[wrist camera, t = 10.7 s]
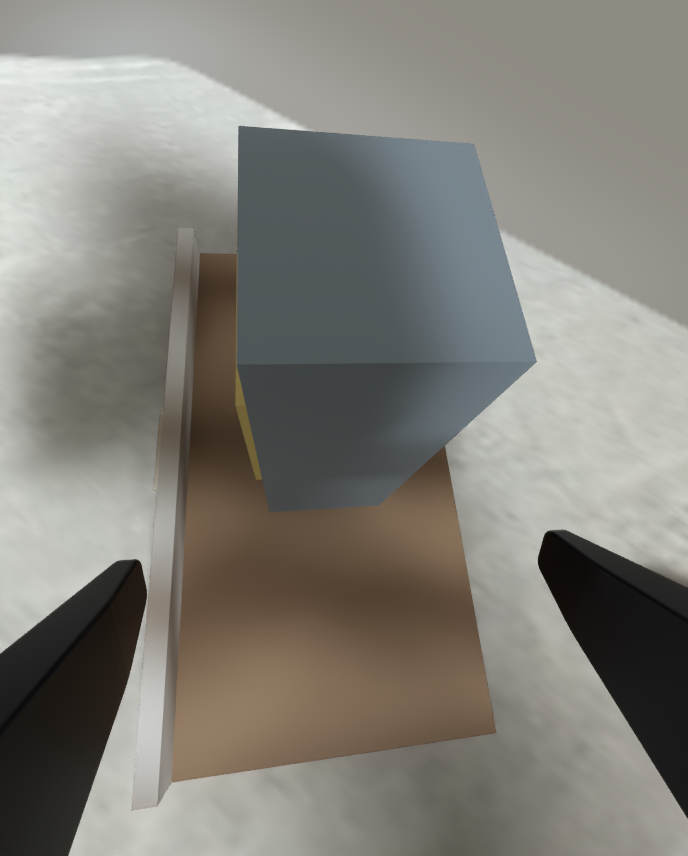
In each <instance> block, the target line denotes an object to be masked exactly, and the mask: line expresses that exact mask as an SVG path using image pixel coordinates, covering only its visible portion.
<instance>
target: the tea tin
mask: <svg viewBox="0 0 688 856" xmlns="http://www.w3.org/2000/svg"><path fill="white" fill-rule="evenodd" d="M536 362H537V361H536V357H535V354H534V350H533V347H532V343H531V340H530V336H529V333H528V329H527V326H526V322H525V319H524V316H523V312H522V309H521V305H520V302H519V298H518V295H517V291H516V288H515V284H514V281H513V277H512V274H511V270H510V267H509V263H508V260H507V257H506V253H505V250H504V246H503V243H502V239H501V236H500V232H499V229H498V225H497V222H496V219H495V215H494V211H493V208H492V204H491V201H490V198H489V194H488V191H487V188H486V184H485V180H484V177H483V173H482V170H481V166H480V163H479V159H478V156H477V152H476V149H475V146H474V144H470V143H456V142H443V141H430V140H417V139H403V138H390V137H377V136H365V135H351V134H338V133H324V132H312V131H299V130H286V129H273V128H260V127H246V126H239V135H238V250H237V286H236V397H235V406H236V410H237V413H238V417H239V421H240V424H241V428H242V431H243V435H244V439H245V442H246V446H247V449H248V453H249V457H250V460H251V464H252V467H253V471H254V474H255V478H256V480H262V481H263V486H264V490H265V495H266V499H267V504H268V508H269V512H283V511H299V510H315V509H331V508H347V507H362V506H378V505H380V504H381V503H382V502H383V501H384V500H385V499H386V498H388V497H389V496H390V495H391V494H392V493H393V492H394V491H395V490H396V489H397V488H399V487H400V486H401V485H402V484H403V483H404V482H405V481H406V480H407V479H408V478H410V477H411V476H412V475H413V474H414V473H415V472H416V471H417V470H418V469H419V468H421V467H422V466H423V465H424V464H425V463H426V462H427V461H428V460H429V459H430V458H432V457H433V456H434V455H435V454H436V453H437V452H438V451H439V450H440V449H441V448H443V447H444V446H445V445H446V444H447V443H448V442H449V441H450V440H451V439H452V438H453V437H455V436H456V435H457V434H458V433H459V432H460V431H461V430H462V429H463V428H464V427H466V426H467V425H468V424H469V423H470V422H471V421H472V420H473V419H474V418H475V417H477V416H478V415H479V414H480V413H481V412H482V411H483V410H484V409H485V408H486V407H488V406H489V405H490V404H491V403H492V402H493V401H494V400H495V399H496V398H497V397H499V396H500V395H501V394H502V393H503V392H504V391H505V390H506V389H507V388H508V387H510V386H511V385H512V384H513V383H514V382H515V381H516V380H517V379H518V378H519V377H521V376H522V375H523V374H524V373H525V372H526V371H527V370H528V369H529V368H530V367H532V366H533V365H534V364H535V363H536Z"/></svg>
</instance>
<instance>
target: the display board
mask: <svg viewBox="0 0 688 856" xmlns="http://www.w3.org/2000/svg"><path fill="white" fill-rule="evenodd" d="M236 286H237V255H234V254H203V253H200V251H199V248H198V244H197V240H196V236H195V232H194V228H178V236H177V248H176V261H175V273H174V286H173V298H172V310H171V323H170V335H169V348H168V360H167V373H166V385H165V398H164V410H163V411H160V418H159V430H158V442H157V454H156V466H155V478H154V490H155V491H156V492H157V497H156V510H155V522H154V535H153V547H152V560H151V572H150V585H149V597H148V609H147V622H146V634H145V647H144V659H143V672H142V684H141V697H140V709H139V722H138V734H137V746H136V759H135V771H134V784H133V796H132V809H131V811H132V810H138V809H144V808H151V807H157V806H158V804H159V803H160V801H161V799H162V798H163V796H164V794H165V793H166V791H167V789H168V787H169V786H170V784H171V782H177V781H184V780H190V779H197V778H204V777H210V776H217V775H223V774H230V773H236V772H243V771H250V770H256V769H263V768H269V767H276V766H282V765H289V764H296V763H302V762H309V761H315V760H322V759H329V758H335V757H342V756H348V755H355V754H361V753H368V752H375V751H381V750H388V749H394V748H401V747H407V746H414V745H421V744H427V743H434V742H440V741H447V740H453V739H460V738H467V737H473V736H480V735H486V734H493V733H496V729H495V724H494V718H493V713H492V707H491V701H490V696H489V690H488V685H487V679H486V674H485V668H484V662H483V657H482V651H481V646H480V640H479V634H478V629H477V623H476V618H475V612H474V606H473V601H472V595H471V590H470V584H469V579H468V573H467V567H466V562H465V556H464V551H463V545H462V539H461V534H460V528H459V523H458V517H457V511H456V506H455V500H454V495H453V489H452V484H451V478H450V472H449V467H448V461H447V456H446V450H445V446H444V447H443V448H441V449H440V450H439V451H438V452H437V453H436V454H435V455H434V456H433V457H432V458H430V459H429V460H428V461H427V462H426V463H425V464H424V465H423V466H422V467H421V468H419V469H418V470H417V471H416V472H415V473H414V474H413V475H412V476H411V477H410V478H408V479H407V480H406V481H405V482H404V483H403V484H402V485H401V486H400V487H399V488H397V489H396V490H395V491H394V492H393V493H392V494H391V495H390V496H389V497H388V498H386V499H385V500H384V501H383V502H382V503H381V504H380V505H378V506H362V507H347V508H331V509H315V510H299V511H283V512H269V508H268V504H267V499H266V495H265V490H264V486H263V481H262V480H256V478H255V474H254V471H253V467H252V464H251V460H250V457H249V453H248V449H247V446H246V442H245V439H244V435H243V431H242V428H241V424H240V421H239V417H238V413H237V410H236V406H235V397H236Z"/></svg>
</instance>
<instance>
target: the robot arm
mask: <svg viewBox="0 0 688 856" xmlns="http://www.w3.org/2000/svg"><path fill="white" fill-rule="evenodd" d="M538 565H539V569H540V571H541V573H542V575H543V577H544V579H545V581H546V583H547V585H548V587H549V589H550V591H551V593H552V595H553V597H554V599H555V601H556V603H557V605H558V607H559V609H560V611H561V613H562V615H563V617H564V619H565V621H566V622H567V624H568V626H569V628H570V630H571V632H572V633H573V635H574V637H575V638H576V640H577V642H578V643H579V645H580V646H581V648H582V650H583V651H584V653H585V654H586V656H587V658H588V659H589V661H590V663H591V664H592V666H593V667H594V669H595V671H596V672H597V674H598V675H599V677H600V679H601V680H602V682H603V683H604V685H605V687H606V688H607V690H608V691H609V693H610V695H611V696H612V698H613V699H614V701H615V703H616V704H617V706H618V708H619V709H620V711H621V712H622V714H623V716H624V717H625V719H626V720H627V722H628V724H629V725H630V727H631V728H632V730H633V732H634V733H635V735H636V736H637V738H638V740H639V741H640V743H641V744H642V746H643V748H644V749H645V751H646V753H647V754H648V756H649V757H650V759H651V761H652V762H653V764H654V765H655V767H656V769H657V770H658V772H659V773H660V775H661V777H662V778H663V780H664V781H665V783H666V785H667V786H668V788H669V789H670V791H671V793H672V794H673V796H674V797H675V799H676V801H677V802H678V804H679V806H680V807H681V809H682V810H683V812H684V814H685V815H686V817H687V818H688V588H687V587H685V586H683V585H681V584H679V583H677V582H675V581H672V580H670V579H668V578H666V577H664V576H662V575H660V574H658V573H655V572H653V571H651V570H649V569H647V568H645V567H643V566H641V565H639V564H636V563H634V562H632V561H630V560H628V559H626V558H624V557H622V556H620V555H617V554H615V553H613V552H611V551H609V550H607V549H605V548H603V547H600V546H598V545H596V544H594V543H592V542H590V541H588V540H586V539H584V538H581V537H579V536H577V535H575V534H573V533H571V532H569V531H566V530H550V531H547V532H546V533H545V535H544V538H543V541H542V545H541V549H540V552H539V556H538ZM146 599H147V589H146V584H145V579H144V575H143V570H142V565H141V563H140V561H139V560H137V559H133V560H120V561H117V562H115V563H114V564H112V565H111V566H110V567H108V568H107V569H106V570H105V571H103V572H102V573H101V574H100V575H98V576H97V577H96V578H95V579H93V580H92V581H91V582H90V583H88V584H87V585H86V586H85V587H83V588H82V589H81V590H80V591H78V592H77V593H76V594H75V595H73V596H72V597H71V598H70V599H68V600H67V601H66V602H64V603H63V604H62V605H61V606H59V607H58V608H57V609H56V610H54V611H53V612H52V613H51V614H49V615H48V616H47V617H46V618H44V619H43V620H42V621H41V622H39V623H38V624H37V625H36V626H34V627H33V628H32V629H31V630H29V631H28V632H27V633H26V634H24V635H23V636H22V637H20V638H19V639H18V640H17V641H15V642H14V643H13V644H12V645H10V646H9V647H8V648H7V649H5V650H4V651H3V652H2V653H0V856H68V855H69V852H70V849H71V846H72V843H73V840H74V837H75V835H76V832H77V829H78V826H79V823H80V820H81V817H82V814H83V811H84V808H85V805H86V802H87V799H88V797H89V794H90V791H91V788H92V785H93V782H94V779H95V776H96V773H97V770H98V767H99V764H100V761H101V758H102V756H103V753H104V750H105V747H106V744H107V741H108V738H109V735H110V732H111V729H112V726H113V723H114V720H115V718H116V715H117V712H118V709H119V706H120V703H121V700H122V697H123V694H124V691H125V688H126V685H127V682H128V678H129V675H130V671H131V667H132V662H133V658H134V654H135V649H136V645H137V640H138V636H139V631H140V627H141V623H142V618H143V614H144V609H145V605H146Z"/></svg>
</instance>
